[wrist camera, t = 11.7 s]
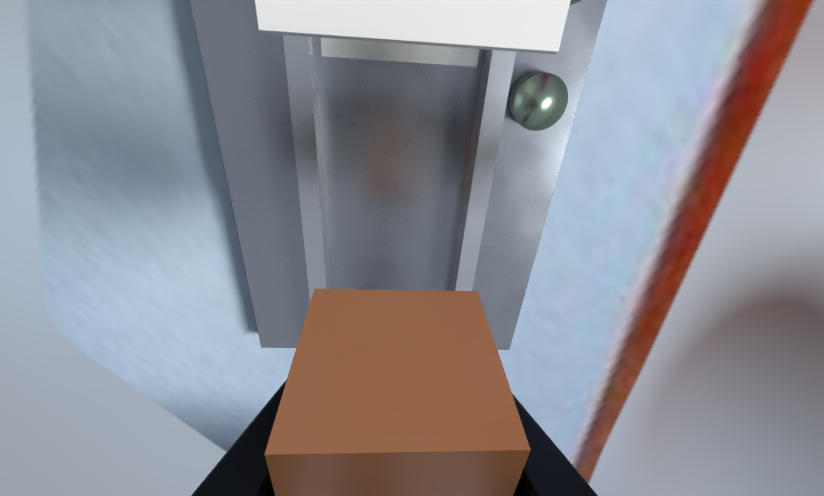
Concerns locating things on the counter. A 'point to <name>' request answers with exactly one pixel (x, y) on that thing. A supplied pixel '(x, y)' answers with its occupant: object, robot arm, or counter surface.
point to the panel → (387, 161)
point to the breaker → (423, 22)
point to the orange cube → (396, 400)
